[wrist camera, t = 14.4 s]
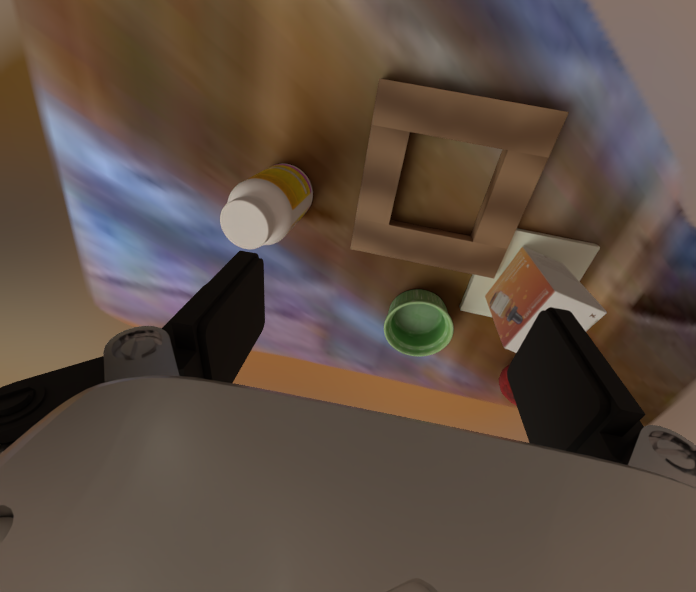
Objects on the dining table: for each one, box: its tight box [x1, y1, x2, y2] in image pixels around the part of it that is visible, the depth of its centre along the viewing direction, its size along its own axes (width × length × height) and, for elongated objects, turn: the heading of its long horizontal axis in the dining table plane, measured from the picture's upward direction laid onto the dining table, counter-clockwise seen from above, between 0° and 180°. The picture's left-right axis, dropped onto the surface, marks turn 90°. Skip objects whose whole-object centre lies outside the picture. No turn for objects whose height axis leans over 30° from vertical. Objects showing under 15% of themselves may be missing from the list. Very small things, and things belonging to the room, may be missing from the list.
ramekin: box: [384, 289, 454, 356], centre depth 45 cm, size 9×9×4 cm
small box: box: [485, 246, 607, 353], centre depth 36 cm, size 8×6×10 cm
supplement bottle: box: [220, 163, 313, 249], centre depth 35 cm, size 7×7×13 cm
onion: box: [499, 365, 516, 405], centre depth 45 cm, size 6×6×8 cm
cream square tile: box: [459, 228, 600, 317], centre depth 41 cm, size 12×12×1 cm
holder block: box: [350, 78, 569, 279], centre depth 37 cm, size 18×18×2 cm
